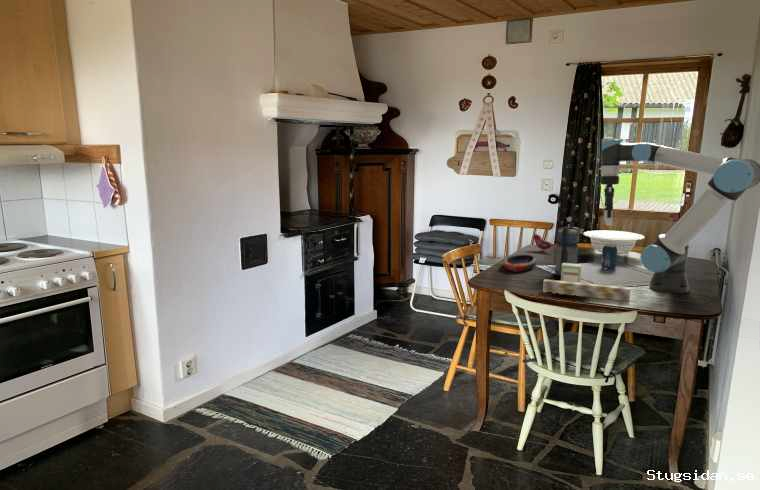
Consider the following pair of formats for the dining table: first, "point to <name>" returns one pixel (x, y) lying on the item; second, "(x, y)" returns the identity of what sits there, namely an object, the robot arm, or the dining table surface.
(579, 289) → the price rail shelf lip
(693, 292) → the dining table surface
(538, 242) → the decorative bird figurine
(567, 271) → the sage carton
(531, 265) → the dish
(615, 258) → the soda can
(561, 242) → the beverage bottle
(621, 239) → the colander
